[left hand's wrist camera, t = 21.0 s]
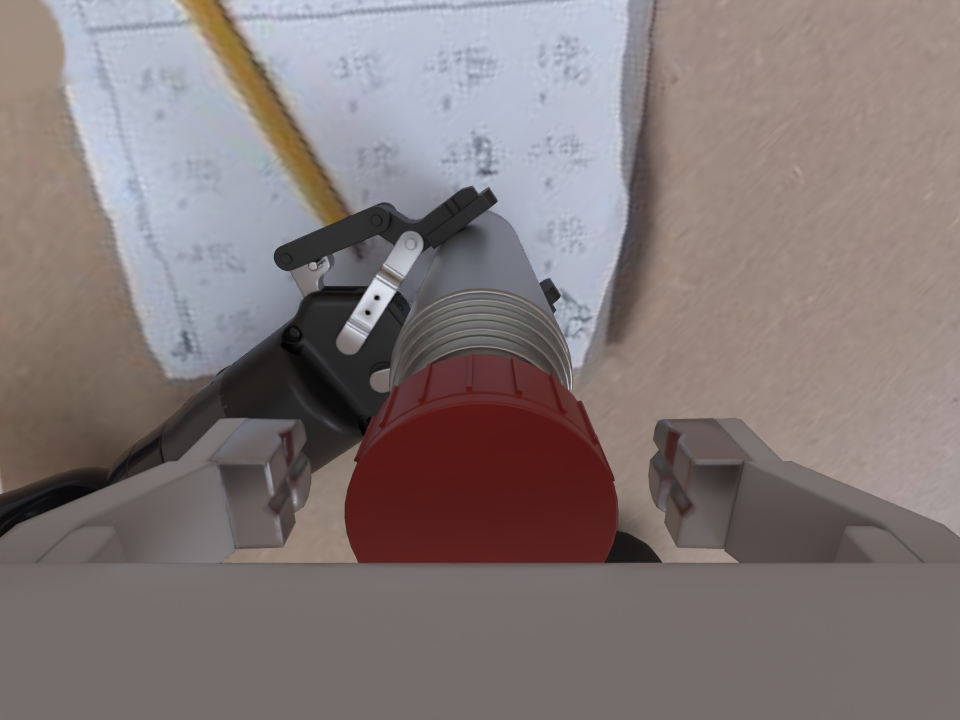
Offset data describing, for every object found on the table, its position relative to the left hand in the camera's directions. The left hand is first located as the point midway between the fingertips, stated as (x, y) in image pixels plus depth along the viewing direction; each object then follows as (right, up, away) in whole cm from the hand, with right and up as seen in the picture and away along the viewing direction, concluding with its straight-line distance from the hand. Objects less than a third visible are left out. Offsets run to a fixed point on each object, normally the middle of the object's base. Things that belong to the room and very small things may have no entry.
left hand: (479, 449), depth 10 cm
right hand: (+2, +8, +15) cm, 17 cm away
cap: (0, -1, -2) cm, 2 cm away
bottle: (0, +8, +21) cm, 23 cm away
